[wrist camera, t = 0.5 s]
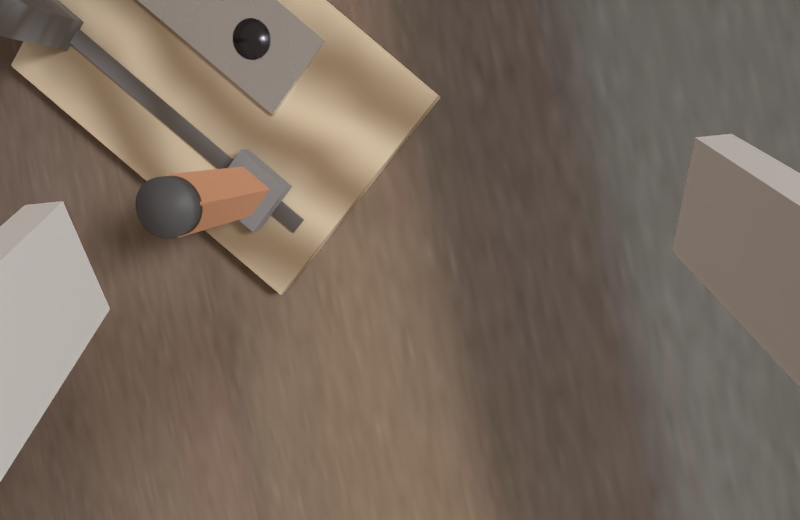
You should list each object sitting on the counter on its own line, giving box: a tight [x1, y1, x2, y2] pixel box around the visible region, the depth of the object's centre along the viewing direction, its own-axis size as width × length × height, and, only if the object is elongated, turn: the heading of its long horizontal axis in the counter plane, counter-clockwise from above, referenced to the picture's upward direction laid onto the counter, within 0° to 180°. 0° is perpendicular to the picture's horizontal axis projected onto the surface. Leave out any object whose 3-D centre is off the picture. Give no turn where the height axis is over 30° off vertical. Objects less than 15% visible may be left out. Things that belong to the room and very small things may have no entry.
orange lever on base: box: [136, 149, 292, 239], centre depth 34 cm, size 4×4×11 cm
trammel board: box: [0, 0, 440, 295], centre depth 34 cm, size 18×26×12 cm
